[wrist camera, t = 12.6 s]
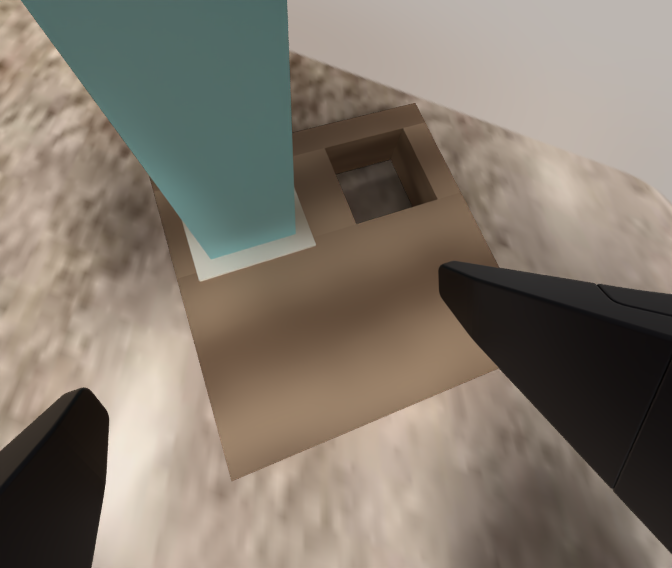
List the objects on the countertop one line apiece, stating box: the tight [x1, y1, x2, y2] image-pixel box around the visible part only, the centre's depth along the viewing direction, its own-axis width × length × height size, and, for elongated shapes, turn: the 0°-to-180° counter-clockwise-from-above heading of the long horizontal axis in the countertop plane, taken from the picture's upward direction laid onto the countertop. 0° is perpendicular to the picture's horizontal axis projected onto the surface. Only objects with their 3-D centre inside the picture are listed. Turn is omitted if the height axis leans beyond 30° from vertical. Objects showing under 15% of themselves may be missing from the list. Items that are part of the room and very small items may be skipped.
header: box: [149, 103, 499, 481], centre depth 19 cm, size 16×16×3 cm
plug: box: [21, 0, 296, 259], centre depth 12 cm, size 4×4×12 cm
